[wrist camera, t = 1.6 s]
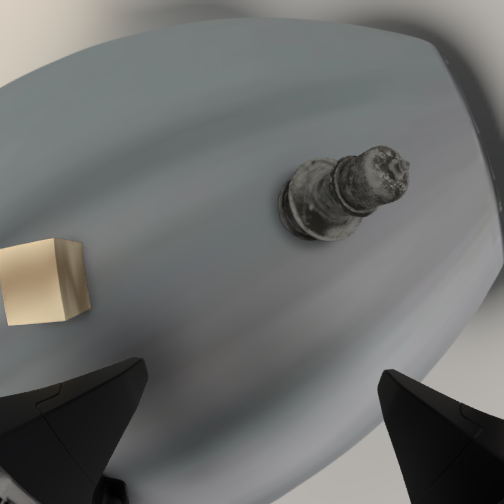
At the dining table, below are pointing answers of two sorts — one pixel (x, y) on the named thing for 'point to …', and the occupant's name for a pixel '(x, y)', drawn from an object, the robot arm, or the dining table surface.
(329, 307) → the dining table surface
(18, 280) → the maple block
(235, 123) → the dining table surface
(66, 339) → the dining table surface
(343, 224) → the grey tall rounded piece
